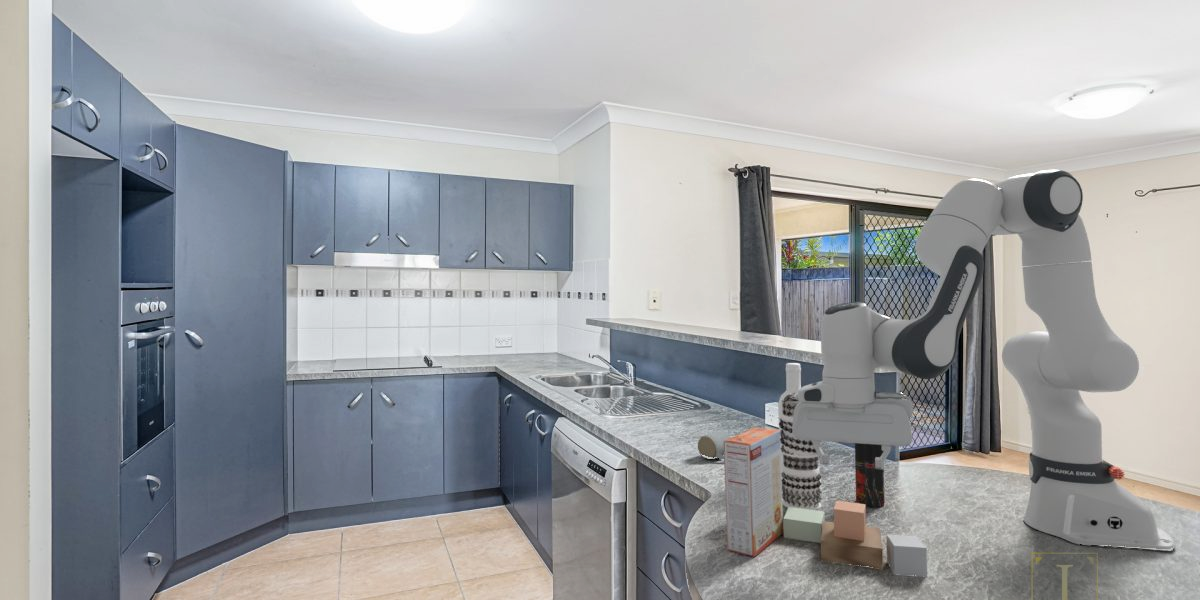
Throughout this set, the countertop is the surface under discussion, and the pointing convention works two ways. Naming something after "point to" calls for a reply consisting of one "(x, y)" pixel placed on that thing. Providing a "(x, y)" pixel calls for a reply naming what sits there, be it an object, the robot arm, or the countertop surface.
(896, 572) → the grey cube
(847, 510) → the terracotta cube
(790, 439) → the decorative candle
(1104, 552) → the countertop surface
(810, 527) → the sage block
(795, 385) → the bottle
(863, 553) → the walnut block
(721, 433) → the ceramic mug
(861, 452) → the deodorant
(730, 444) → the cracker box
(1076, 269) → the robot arm
